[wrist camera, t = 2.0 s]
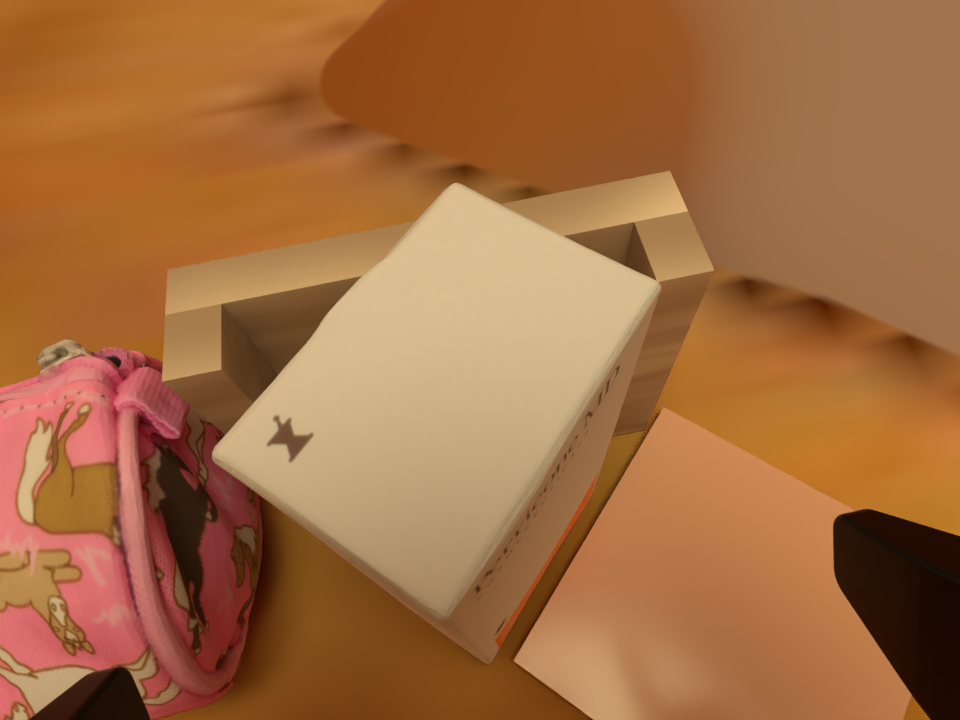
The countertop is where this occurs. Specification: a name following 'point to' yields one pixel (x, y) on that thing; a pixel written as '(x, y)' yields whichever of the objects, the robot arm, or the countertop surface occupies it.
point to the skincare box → (453, 412)
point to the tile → (710, 598)
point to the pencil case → (118, 537)
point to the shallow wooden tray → (345, 259)
